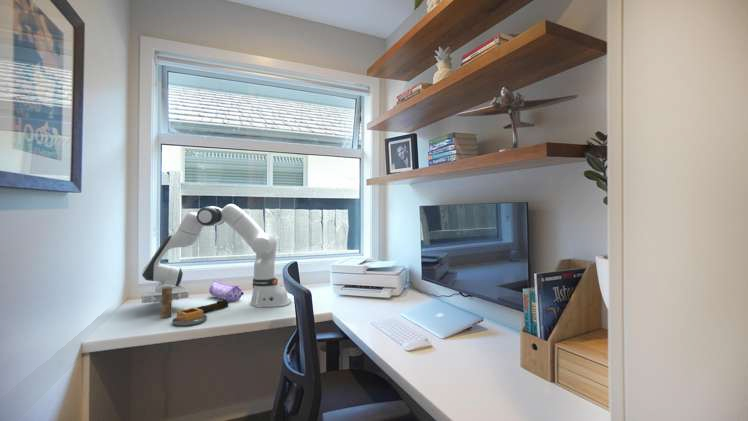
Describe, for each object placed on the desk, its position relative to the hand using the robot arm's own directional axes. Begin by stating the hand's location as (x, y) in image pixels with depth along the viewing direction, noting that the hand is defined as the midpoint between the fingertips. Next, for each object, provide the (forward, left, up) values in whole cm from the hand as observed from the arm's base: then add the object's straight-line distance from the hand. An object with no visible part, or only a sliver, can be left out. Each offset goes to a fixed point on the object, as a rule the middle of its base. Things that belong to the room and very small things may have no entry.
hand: (166, 299), depth 161 cm
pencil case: (-15, -32, -8) cm, 36 cm away
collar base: (-16, +9, -8) cm, 20 cm away
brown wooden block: (-1, +2, -8) cm, 8 cm away
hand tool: (-18, -8, -8) cm, 21 cm away
